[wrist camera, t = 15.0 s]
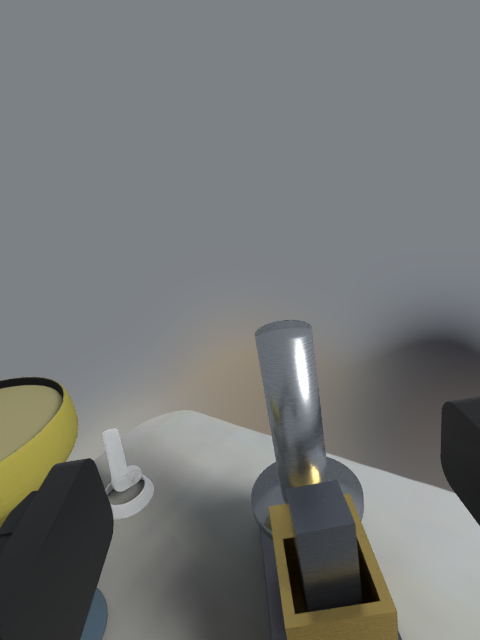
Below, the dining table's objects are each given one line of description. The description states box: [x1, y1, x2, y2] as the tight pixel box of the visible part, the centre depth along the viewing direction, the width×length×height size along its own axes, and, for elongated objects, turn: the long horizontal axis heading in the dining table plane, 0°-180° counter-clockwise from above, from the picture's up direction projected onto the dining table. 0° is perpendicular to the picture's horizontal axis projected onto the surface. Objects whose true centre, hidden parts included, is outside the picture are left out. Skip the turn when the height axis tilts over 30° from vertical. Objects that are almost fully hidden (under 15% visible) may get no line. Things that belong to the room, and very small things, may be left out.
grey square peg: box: [286, 480, 362, 612], centre depth 30 cm, size 4×4×16 cm
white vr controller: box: [102, 428, 154, 519], centre depth 56 cm, size 8×12×7 cm
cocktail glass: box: [0, 377, 108, 640], centre depth 34 cm, size 18×18×25 cm
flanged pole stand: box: [251, 320, 402, 640], centre depth 33 cm, size 19×11×27 cm, turn 2°
